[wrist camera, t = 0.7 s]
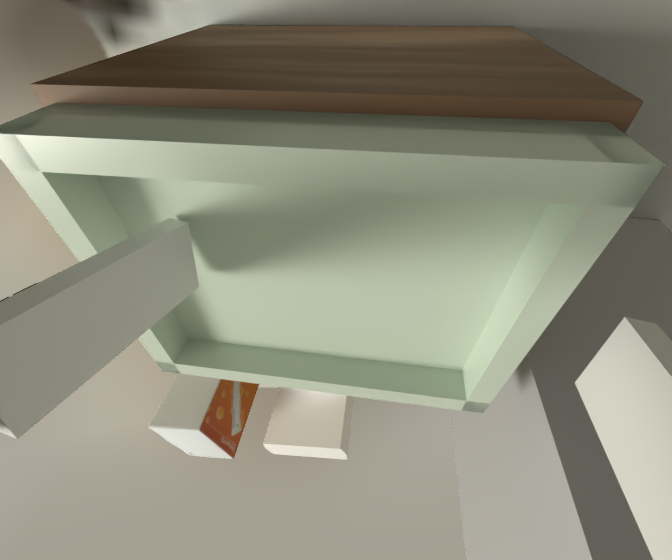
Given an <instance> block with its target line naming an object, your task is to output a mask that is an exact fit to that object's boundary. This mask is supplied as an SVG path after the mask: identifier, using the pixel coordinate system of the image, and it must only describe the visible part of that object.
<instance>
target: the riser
mask: <svg viewBox="0 0 672 560" xmlns="http://www.w3.org/2000/svg"><path fill="white" fill-rule="evenodd" d="M30 86H31V87H32V89H33V91H34V92H35V94H36V96H37V97H38V99H39V101H40V102H41V104H42V105H43V107H46V106H48V105H51V104H53V103H73V104H102V105H131V106H160V107H189V108H217V109H246V110H275V111H304V112H333V113H362V114H390V115H419V116H448V117H477V118H506V119H535V120H563V121H592V122H610V123H612V124H613V125H614V126H615V127H617V128H618V129H619V130H621V131H622V132H623V133H625V132H626V130H627V128H628V127H629V125H630V123H631V122H632V120H633V118H634V117H635V115H636V113H637V112H638V110H639V108H640V107H641V105H642V103H643V102H644V101H642V100H641V99H639V98H637V97H635V96H634V95H632V94H630V93H628V92H627V91H625V90H623V89H621V88H620V87H618V86H616V85H614V84H613V83H611V82H609V81H607V80H606V79H604V78H602V77H600V76H599V75H597V74H595V73H593V72H592V71H590V70H588V69H587V68H585V67H583V66H581V65H580V64H578V63H576V62H574V61H573V60H571V59H569V58H567V57H566V56H564V55H562V54H560V53H559V52H557V51H555V50H553V49H552V48H550V47H548V46H546V45H545V44H543V43H541V42H539V41H538V40H536V39H534V38H532V37H531V36H529V35H527V34H525V33H524V32H522V31H520V30H518V29H517V28H515V27H513V26H320V25H208V26H205V27H202V28H199V29H196V30H193V31H190V32H186V33H183V34H180V35H177V36H174V37H171V38H168V39H165V40H162V41H159V42H156V43H153V44H150V45H147V46H144V47H141V48H138V49H135V50H132V51H129V52H126V53H123V54H120V55H117V56H114V57H111V58H108V59H105V60H102V61H98V62H95V63H93V64H89V65H86V66H83V67H80V68H77V69H74V70H71V71H68V72H65V73H62V74H59V75H56V76H53V77H50V78H47V79H44V80H41V81H38V82H35V83H32V84H30Z"/></svg>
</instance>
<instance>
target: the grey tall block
mask: <svg viewBox="0 0 672 560" xmlns="http://www.w3.org/2000/svg"><path fill="white" fill-rule="evenodd" d="M624 317H628V318H633V319H637V320H642V321H646V322H651V323H656V324H657V325H658V326H659V327H660V328H661V329H662V331H663V332H664V333H665V334H666V335H667V336H668V337H669V338H670V340H671V341H672V232H671V231H670V230H669V229H668V228H667V227H666V226H665V225H664V224H663V223H662V222H661V221H660V220H651V219H635V218H627V219H626V220H625V222H624V223H623V224H622V226H621V227H620V228H619V230H618V231H617V233H616V234H615V235H614V237H613V238H612V239H611V241H610V242H609V243H608V245H607V246H606V247H605V249H604V250H603V251H602V253H601V254H600V256H599V257H598V258H597V260H596V261H595V262H594V264H593V265H592V266H591V268H590V269H589V270H588V272H587V273H586V275H585V276H584V277H583V279H582V280H581V281H580V283H579V284H578V285H577V287H576V288H575V289H574V291H573V292H572V293H571V295H570V296H569V298H568V299H567V300H566V302H565V303H564V304H563V306H562V307H561V308H560V310H559V311H558V312H557V314H556V315H555V317H554V318H553V319H552V321H551V322H550V323H549V325H548V326H547V327H546V329H545V330H544V331H543V333H542V334H541V335H540V337H539V338H538V340H537V341H536V342H535V344H534V345H533V346H532V348H531V349H530V350H529V352H528V353H527V354H526V356H525V357H524V359H523V360H522V361H521V363H520V364H519V365H518V367H517V368H516V369H515V371H514V372H513V373H512V375H511V376H510V377H509V379H508V380H507V382H506V383H505V384H504V386H503V387H502V388H501V390H500V391H499V392H498V394H497V395H496V396H495V398H494V399H493V401H492V402H491V403H490V405H489V406H488V407H487V409H486V410H485V411H484V413H477V412H469V411H461V410H454V409H450V416H451V425H452V434H453V443H454V452H455V460H456V470H457V479H458V488H459V497H460V506H461V516H462V525H463V534H464V543H465V552H466V560H653V558H652V556H651V554H650V551H649V549H648V547H647V545H646V542H645V540H644V538H643V536H642V533H641V531H640V529H639V527H638V524H637V522H636V520H635V518H634V515H633V513H632V511H631V509H630V506H629V504H628V502H627V499H626V497H625V495H624V493H623V490H622V488H621V486H620V484H619V481H618V479H617V477H616V475H615V472H614V470H613V468H612V466H611V463H610V461H609V459H608V457H607V454H606V452H605V450H604V448H603V445H602V443H601V441H600V439H599V436H598V434H597V432H596V430H595V427H594V425H593V423H592V420H591V418H590V416H589V414H588V411H587V409H586V407H585V405H584V402H583V400H582V398H581V396H580V393H579V391H578V389H577V387H576V384H575V382H576V380H577V379H578V378H579V377H580V375H581V374H582V373H583V371H584V370H585V369H586V367H587V366H588V365H589V363H590V362H591V361H592V359H593V358H594V357H595V355H596V354H597V353H598V351H599V350H600V349H601V347H602V346H603V345H604V343H605V342H606V341H607V340H608V338H609V337H610V336H611V334H612V333H613V332H614V330H615V329H616V328H617V326H618V325H619V324H620V322H621V321H622V320H623V318H624Z"/></svg>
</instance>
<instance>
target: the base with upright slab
mask: <svg viewBox="0 0 672 560" xmlns="http://www.w3.org/2000/svg"><path fill="white" fill-rule="evenodd" d="M353 400H354V396H347V395H339V394H332V393H324V392H316V391H309V390H301V389H293V388H286V387H279V388H278V393H277V397H276V401H275V404H274V408H273V411H272V415H271V418H270V422H269V425H268V429H267V432H266V436H265V439H264V443H263V445H264V446H265V448H266V449H267V450H268V451H270V452H271V453H273V454H282V455H297V456H308V457H321V458H334V459H347V456H348V447H349V437H350V428H351V418H352V410H353Z"/></svg>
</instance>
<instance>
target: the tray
mask: <svg viewBox="0 0 672 560" xmlns="http://www.w3.org/2000/svg"><path fill="white" fill-rule="evenodd" d="M0 158H1V159H2V161H3V162H4V163H5V165H6V166H7V167H8V169H9V170H10V171H11V173H12V174H13V175H14V177H15V178H16V179H17V180H18V182H19V183H20V184H21V186H22V187H23V188H24V190H25V191H26V192H27V194H28V195H29V196H30V198H31V199H32V200H33V202H34V203H35V204H36V205H37V207H38V208H39V209H40V211H41V212H42V213H43V214H44V216H45V217H46V218H47V220H48V221H49V222H50V224H51V225H52V226H53V228H54V229H55V230H56V232H57V233H58V234H59V235H60V237H61V238H62V240H63V241H64V242H65V243H66V245H67V246H68V247H69V249H70V250H71V251H72V253H73V254H74V255H75V256H76V258H77V259H78V261H79V262H81V261H83V260H85V259H88V258H90V257H92V256H94V255H96V254H98V253H100V252H102V251H104V250H106V249H108V248H110V247H112V246H114V245H116V244H118V243H120V242H122V241H124V240H126V239H128V238H130V237H132V236H134V235H136V234H138V233H140V232H142V231H144V230H146V229H148V228H150V227H152V226H154V225H156V224H158V223H160V222H162V221H164V220H166V219H168V218H172V219H176V220H181V221H185V222H188V224H189V230H190V236H191V242H192V248H193V254H194V260H195V266H196V271H197V277H198V283H199V287H198V288H197V289H196V290H195V291H194V292H192V293H191V294H190V295H189V296H188V297H186V298H185V299H184V300H183V301H182V302H180V303H179V304H178V305H177V306H176V307H174V308H173V309H172V310H171V311H170V312H169V313H167V314H166V315H165V316H164V317H163V318H161V319H160V320H159V321H158V322H157V323H155V324H154V325H153V326H152V327H151V328H149V329H148V330H147V331H146V332H145V333H143V334H142V335H141V336H140V337H139V338H138V339H139V341H140V342H141V343H142V344H143V346H144V347H145V348H146V349H147V351H148V352H149V354H150V355H151V356H152V357H153V359H154V360H155V362H156V363H157V364H158V365H159V367H160V368H161V369H162V371H165V372H172V373H179V374H187V375H194V376H202V377H210V378H217V379H225V380H232V381H240V382H248V383H255V384H263V385H271V386H278V387H286V388H293V389H301V390H309V391H316V392H324V393H332V394H339V395H347V396H354V397H363V398H370V399H377V400H386V401H393V402H401V403H408V404H416V405H424V406H431V407H438V408H446V409H454V410H461V411H469V412H477V413H484V411H485V410H486V409H487V407H488V406H489V405H490V403H491V402H492V401H493V399H494V398H495V396H496V395H497V394H498V392H499V391H500V390H501V388H502V387H503V386H504V384H505V383H506V382H507V380H508V379H509V377H510V376H511V375H512V373H513V372H514V371H515V369H516V368H517V367H518V365H519V364H520V363H521V361H522V360H523V359H524V357H525V356H526V354H527V353H528V352H529V350H530V349H531V348H532V346H533V345H534V344H535V342H536V341H537V340H538V338H539V337H540V335H541V334H542V333H543V331H544V330H545V329H546V327H547V326H548V325H549V323H550V322H551V321H552V319H553V318H554V317H555V315H556V314H557V312H558V311H559V310H560V308H561V307H562V306H563V304H564V303H565V302H566V300H567V299H568V298H569V296H570V295H571V293H572V292H573V291H574V289H575V288H576V287H577V285H578V284H579V283H580V281H581V280H582V279H583V277H584V276H585V275H586V273H587V272H588V270H589V269H590V268H591V266H592V265H593V264H594V262H595V261H596V260H597V258H598V257H599V256H600V254H601V253H602V251H603V250H604V249H605V247H606V246H607V245H608V243H609V242H610V241H611V239H612V238H613V237H614V235H615V234H616V233H617V231H618V230H619V228H620V227H621V226H622V224H623V223H624V222H625V220H626V219H627V218H628V216H629V215H630V214H631V212H632V211H633V209H634V208H635V207H636V205H637V204H638V203H639V201H640V200H641V199H642V197H643V196H644V195H645V193H646V192H647V191H648V189H649V188H650V186H651V185H652V184H653V182H654V181H655V180H656V178H657V177H658V176H659V174H660V173H661V172H662V170H663V169H664V167H665V166H666V165H665V164H664V163H662V162H661V161H660V160H659V159H657V158H656V157H655V156H653V155H652V154H651V153H649V152H648V151H647V150H646V149H644V148H643V147H642V146H640V145H639V144H638V143H636V142H635V141H634V140H632V139H631V138H630V137H629V136H627V135H626V134H625V133H623V132H622V131H621V130H619V129H618V128H617V127H615V126H614V125H613V124H612V123H610V122H592V121H563V120H535V119H506V118H477V117H448V116H419V115H390V114H362V113H333V112H304V111H275V110H246V109H217V108H189V107H160V106H131V105H102V104H73V103H53V104H51V105H48V106H46V107H43V108H41V109H39V110H36V111H34V112H31V113H29V114H26V115H24V116H21V117H19V118H17V119H14V120H12V121H9V122H7V123H4V124H2V125H0Z"/></svg>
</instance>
